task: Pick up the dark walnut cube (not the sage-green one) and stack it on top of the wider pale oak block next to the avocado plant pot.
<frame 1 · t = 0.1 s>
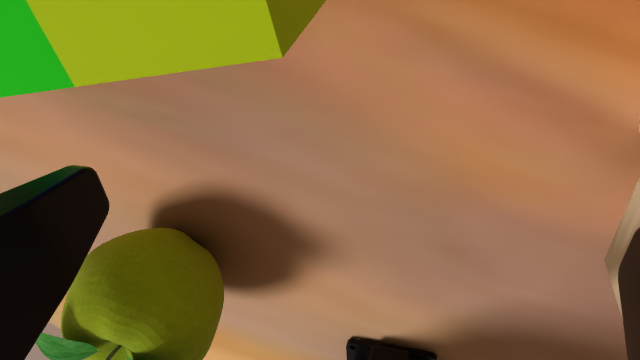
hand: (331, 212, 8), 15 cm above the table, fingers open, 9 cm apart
fruit: (184, 247, 34), on the table
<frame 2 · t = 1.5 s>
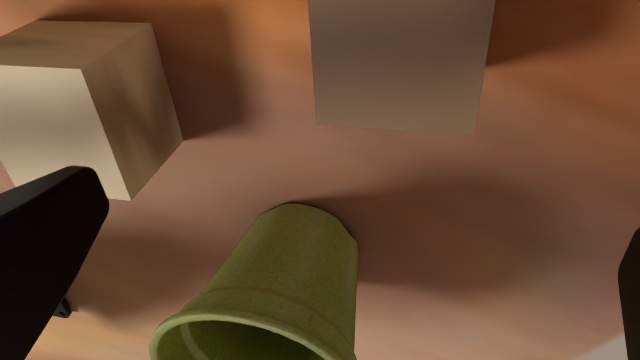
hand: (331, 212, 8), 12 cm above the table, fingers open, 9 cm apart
walnut block: (410, 2, 17), on the table
plant pot: (307, 241, 27), on the table
oak block: (114, 82, 23), on the table
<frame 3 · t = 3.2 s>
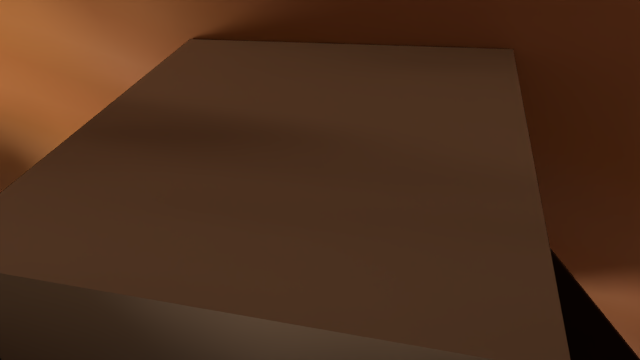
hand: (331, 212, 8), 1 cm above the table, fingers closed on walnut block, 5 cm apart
walnut block: (343, 175, 9), on the table, touching gripper
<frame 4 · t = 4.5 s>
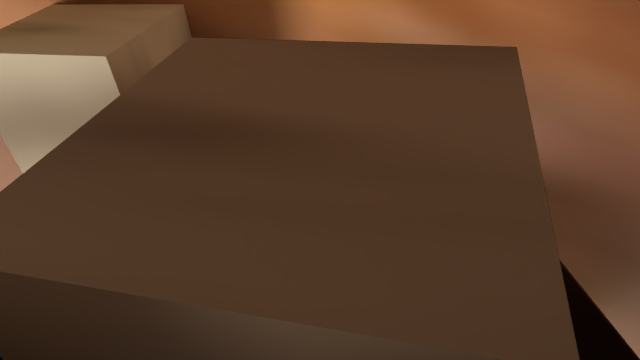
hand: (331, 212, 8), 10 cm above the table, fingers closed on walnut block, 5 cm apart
walnut block: (345, 174, 9), point 9 cm above the table, touching gripper
oak block: (141, 73, 20), on the table
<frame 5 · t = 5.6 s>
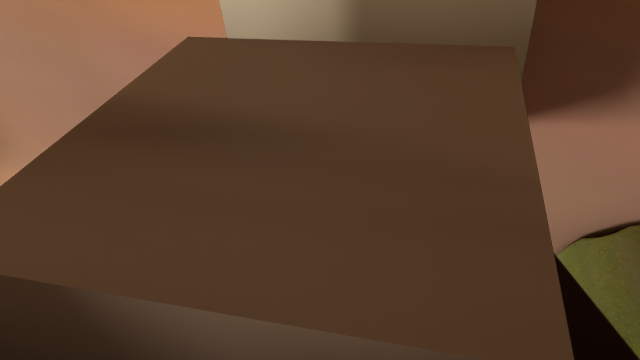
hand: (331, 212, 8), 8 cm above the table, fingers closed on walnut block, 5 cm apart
walnut block: (343, 174, 9), point 7 cm above the table, touching gripper
plant pot: (631, 279, 18), on the table
oak block: (395, 30, 14), on the table
when the fingers open (7 cm above the table, at t = 6.2 s): walnut block drops 1 cm, resting on oak block.
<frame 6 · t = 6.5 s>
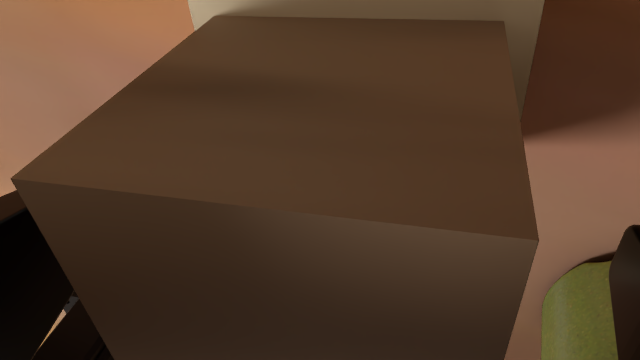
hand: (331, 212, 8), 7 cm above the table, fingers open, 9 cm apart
walnut block: (352, 142, 10), point 5 cm above the table, touching oak block
plant pot: (636, 303, 17), on the table
oak block: (388, 47, 13), on the table, touching walnut block
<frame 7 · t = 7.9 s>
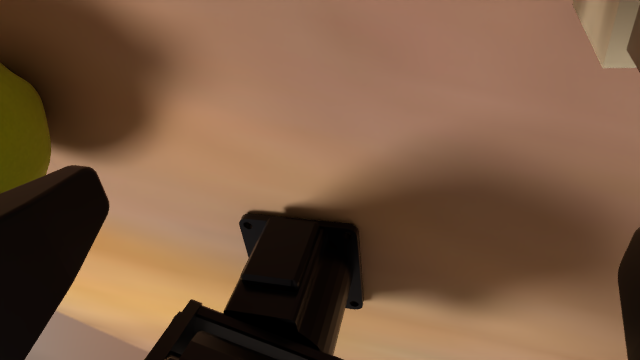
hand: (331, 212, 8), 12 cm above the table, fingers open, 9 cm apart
fruit: (12, 92, 25), on the table
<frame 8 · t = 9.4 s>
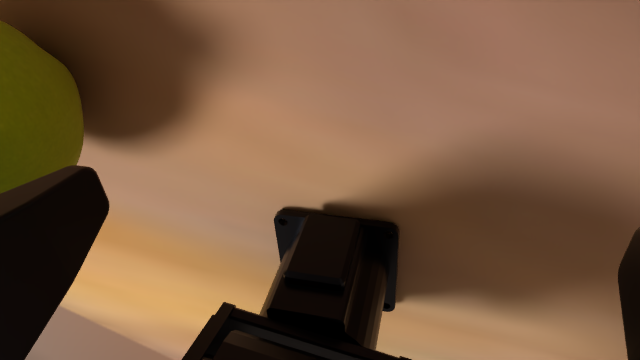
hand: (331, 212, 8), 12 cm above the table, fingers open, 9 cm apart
fruit: (41, 75, 24), on the table
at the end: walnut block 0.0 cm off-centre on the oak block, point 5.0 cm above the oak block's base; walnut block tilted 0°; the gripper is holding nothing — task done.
